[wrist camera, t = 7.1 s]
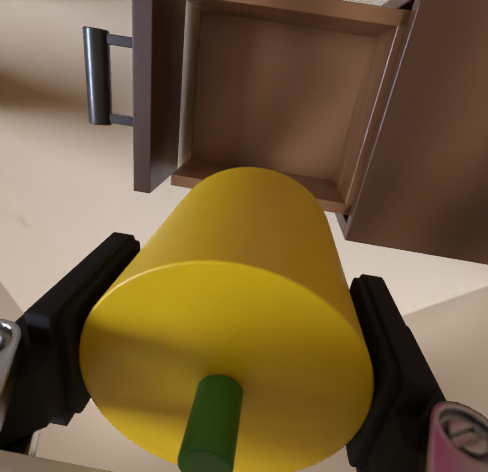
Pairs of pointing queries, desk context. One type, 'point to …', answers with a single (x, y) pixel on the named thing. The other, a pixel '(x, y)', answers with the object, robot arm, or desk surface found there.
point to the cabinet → (430, 139)
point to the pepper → (233, 333)
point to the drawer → (254, 89)
